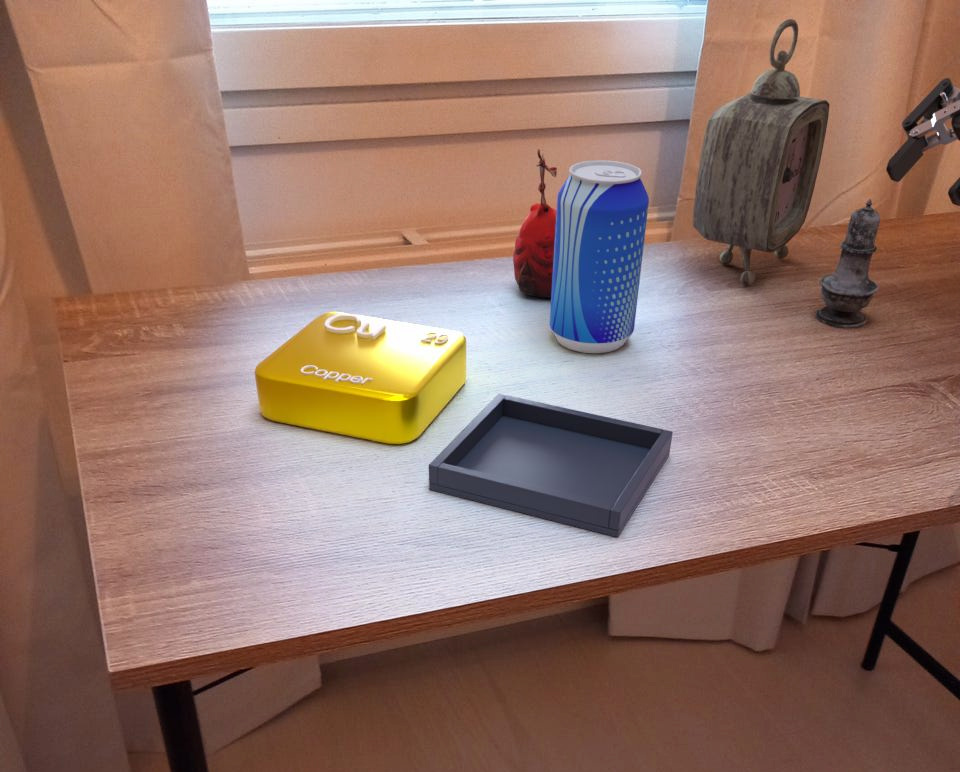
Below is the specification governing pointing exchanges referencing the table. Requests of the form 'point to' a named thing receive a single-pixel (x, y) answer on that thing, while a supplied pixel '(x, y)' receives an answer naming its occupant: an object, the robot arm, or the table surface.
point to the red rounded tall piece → (536, 244)
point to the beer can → (598, 255)
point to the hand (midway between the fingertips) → (921, 187)
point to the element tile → (362, 377)
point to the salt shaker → (851, 273)
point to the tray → (553, 463)
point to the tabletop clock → (760, 164)
